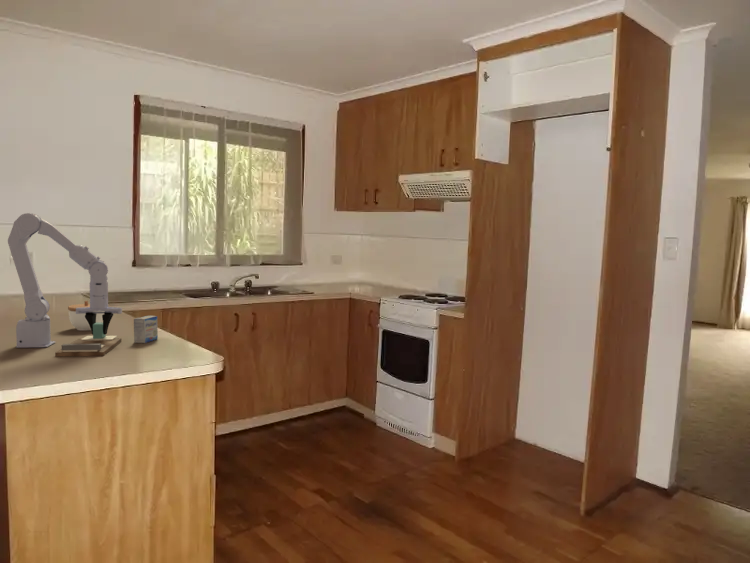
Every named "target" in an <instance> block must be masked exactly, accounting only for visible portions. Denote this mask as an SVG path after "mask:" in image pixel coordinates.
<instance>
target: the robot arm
mask: <svg viewBox="0 0 750 563" xmlns="http://www.w3.org/2000/svg"><path fill="white" fill-rule="evenodd" d="M36 233H37V234H39V235H41V236H42V235H43V236H47V237H49V238H50V239H52V240H53V241H54V242H55V243H57V244H58V245H60V246H61V247H62V248H64V250H66V251H67V252H68V256H69V258H70V259H71V260H72V261H73V262H75V263H76V264H77V265H78V266H80V267H81V268H82V269H83V270H88V274H89V275H90V276H89V277H90V278H89V279H90V280H89V304H90V307H83V308H76V314H80V313H86V315H85V318H86V320H87V321H88V323H89V325H90V328H91V330H90V332H91V334H92V335H91V336H93V324H95V323H96V314H97V313H104V314H103V315H102V318H103V320H102V322H103V334H106V335H107V334H108V330H109V326H110V322H111V320H112V318H113V316H114V314H117V315H121V314H122V313H123V307H117V306H116V307H113V306H111V307H110V306H109V282H108V274H109V273H108V272H109V268H108V265H107V264H106V262H105V261H104V260H102V259H101V257H100V256H96V255H95V254H94V253H93V252H91V251H90V250H89V249H90V248H89V247H88V246H87V245H85V246H84V245H83V244H75V243H74V242H73V241H72V240H71V239H70V238H68V237H67V236H66V235H64V233H62V231H60V230H59V229H58V228H57V227H56V226H54V224H52V223H50V222H48V221H47V220H46V219H43V218H41V216H39V215H37V214H36V213H30V212H29V213H28V212H27V213H23V214H20V216H17V218H16V219H15V220H14V222H13V224H12V228H11V230H10V233H9V236H8V238H7V244H8V247H9V250H10V253H11V256H12V259H13V263H14V266H15V269H16V273H17V275H18V278H19V283H20V286H21V288H22V291H23V296H24V303H25V307H24V314H25V316H26V317H25V318H24V319H19V320H18V321H17V323H16V328H15V331H16V332H15V333H16V336H15V337H16V346H15V348H19V349H20V348H48V347H50V346H51V345H54V344H55V343H56V341H54V340H52V336H51V333H52V332H51V317H50V316H49V314H47V313H48V312H49V311H50V309H51V308H50V303H49V301H48V300H47V299H46V298H45V297H44V294H43V292H42V290H41V289H40V284H39V282H38V279H37V278H38V277H37V274H36V272H35V268H34V265H33V261H32V259H31V255H30V252H29V249H28V246H27V244H28V242H29V240H30V239H31V238H32V236H33V235H35V234H36ZM99 311H104V312H99Z"/></svg>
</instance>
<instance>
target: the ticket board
mask: <svg viewBox="0 0 750 563" xmlns="http://www.w3.org/2000/svg"><path fill="white" fill-rule="evenodd" d="M81 339H82V338H77V339H75V341H72V342H71V343H70V344H105V346H104V347H103V348H101V349H100V350H99V351H95V352H63V350H62V348H60V349H59V350H58V351H55V353H54V355H55V357H104V356H105V355H107V354H108V353H109V352H110V351H112V350H113V349H114V348H115V347H116V346H118V345H119V344H120V343H122V337H121V338H118V337H116V338H115V339H113V340H100V341H81Z"/></svg>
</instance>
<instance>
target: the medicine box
mask: <svg viewBox="0 0 750 563" xmlns="http://www.w3.org/2000/svg"><path fill="white" fill-rule="evenodd" d="M158 338H159V337H158V316H156V315H145V316H141V317H136V318H133V342H134V343H136V344H147V342H148V343H150V341H151V342H153V340H154V341H157V340H158Z"/></svg>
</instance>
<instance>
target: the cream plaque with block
mask: <svg viewBox="0 0 750 563" xmlns="http://www.w3.org/2000/svg"><path fill="white" fill-rule="evenodd" d="M115 338H118V335H107V334H103V321H102V322H96V323H95V324H93V335H86V336H84V337H82V338H80V339H81V341H100V340H113V339H115Z"/></svg>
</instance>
